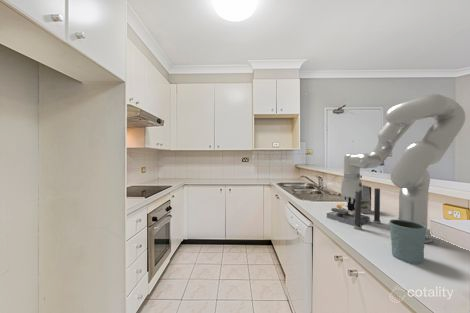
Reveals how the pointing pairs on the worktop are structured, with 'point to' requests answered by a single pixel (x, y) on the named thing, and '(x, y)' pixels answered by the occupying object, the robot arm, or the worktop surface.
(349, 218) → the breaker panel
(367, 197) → the coffee box
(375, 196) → the dark grey post
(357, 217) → the dark grey rod
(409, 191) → the robot arm
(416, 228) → the teal green cup
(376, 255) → the worktop surface
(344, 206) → the block
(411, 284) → the worktop surface
